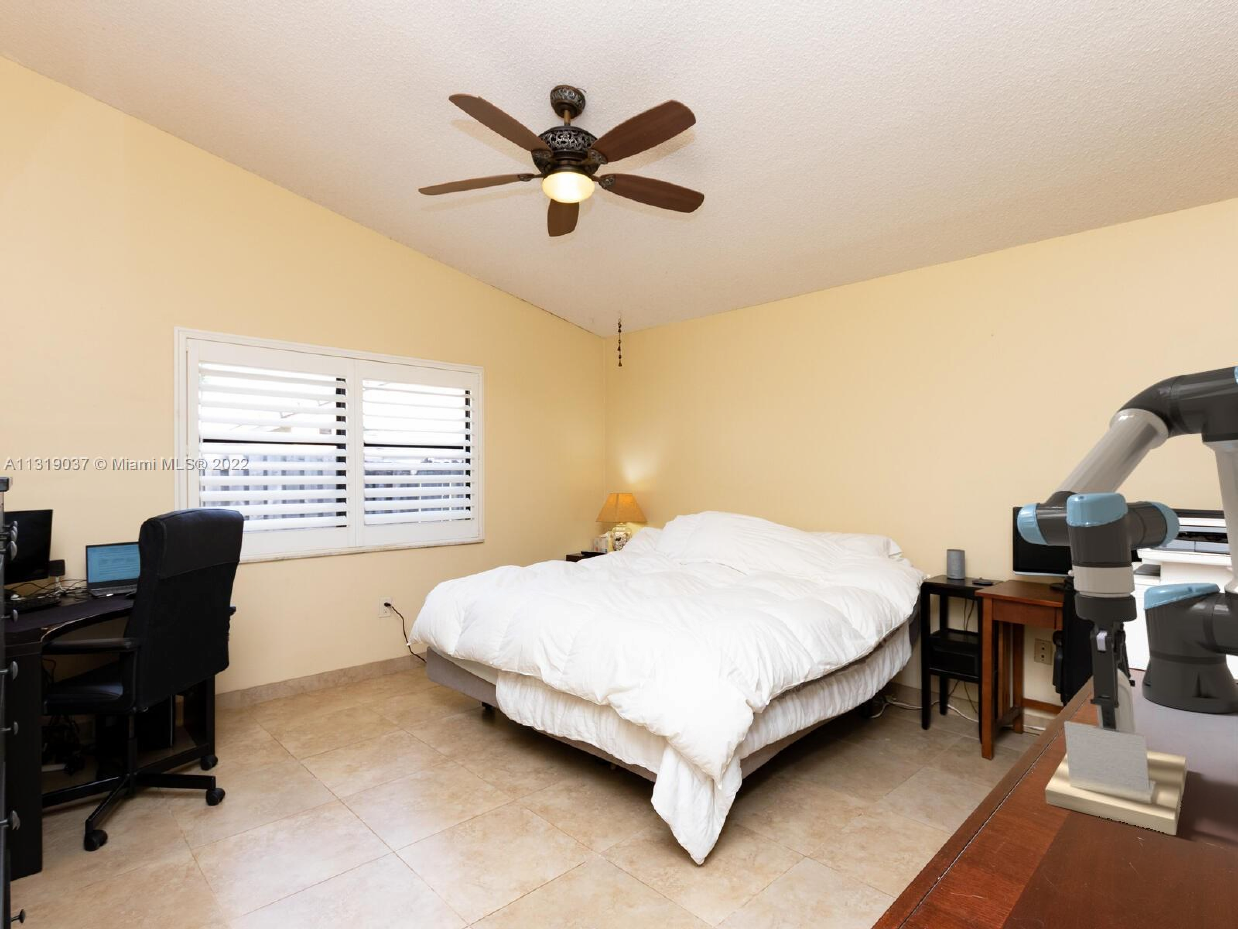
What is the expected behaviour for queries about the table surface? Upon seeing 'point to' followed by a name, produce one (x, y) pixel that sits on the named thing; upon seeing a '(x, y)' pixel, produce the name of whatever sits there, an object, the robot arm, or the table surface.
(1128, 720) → the photo printer
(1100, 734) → the bookend
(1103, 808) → the shelf board
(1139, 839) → the table surface
